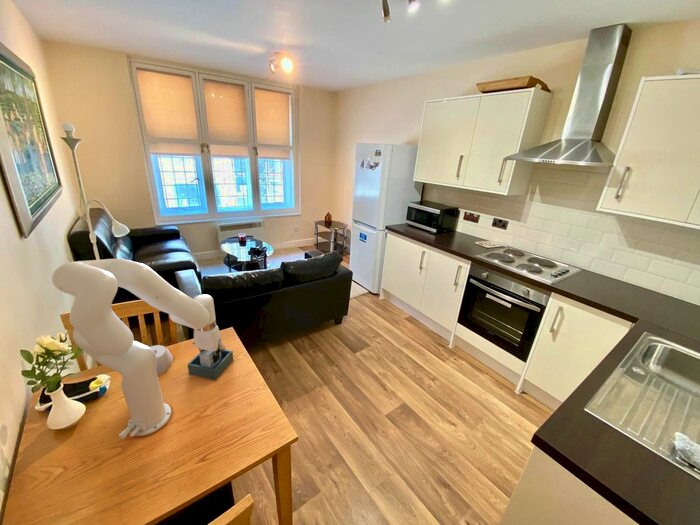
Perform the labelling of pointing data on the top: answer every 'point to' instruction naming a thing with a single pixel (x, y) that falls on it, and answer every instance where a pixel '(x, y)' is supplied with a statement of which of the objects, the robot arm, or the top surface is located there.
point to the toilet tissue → (162, 358)
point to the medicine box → (209, 359)
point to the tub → (210, 373)
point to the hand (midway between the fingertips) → (211, 358)
